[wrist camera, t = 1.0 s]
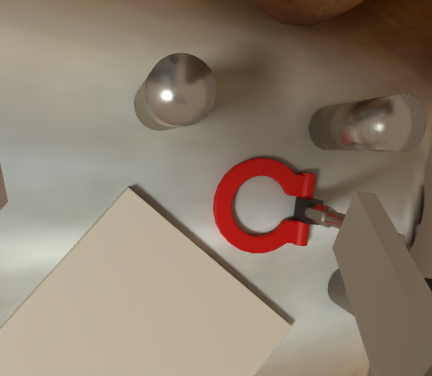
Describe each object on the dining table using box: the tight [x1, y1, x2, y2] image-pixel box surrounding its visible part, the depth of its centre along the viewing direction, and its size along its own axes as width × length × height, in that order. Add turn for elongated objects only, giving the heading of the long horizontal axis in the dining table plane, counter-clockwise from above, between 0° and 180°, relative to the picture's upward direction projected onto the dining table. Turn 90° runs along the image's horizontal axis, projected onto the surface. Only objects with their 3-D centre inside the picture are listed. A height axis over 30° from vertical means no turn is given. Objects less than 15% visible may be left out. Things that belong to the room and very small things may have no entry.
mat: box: [0, 187, 292, 376], centre depth 31 cm, size 20×17×1 cm
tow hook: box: [213, 158, 405, 253], centre depth 27 cm, size 8×13×9 cm
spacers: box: [134, 53, 426, 316], centre depth 29 cm, size 23×20×9 cm
